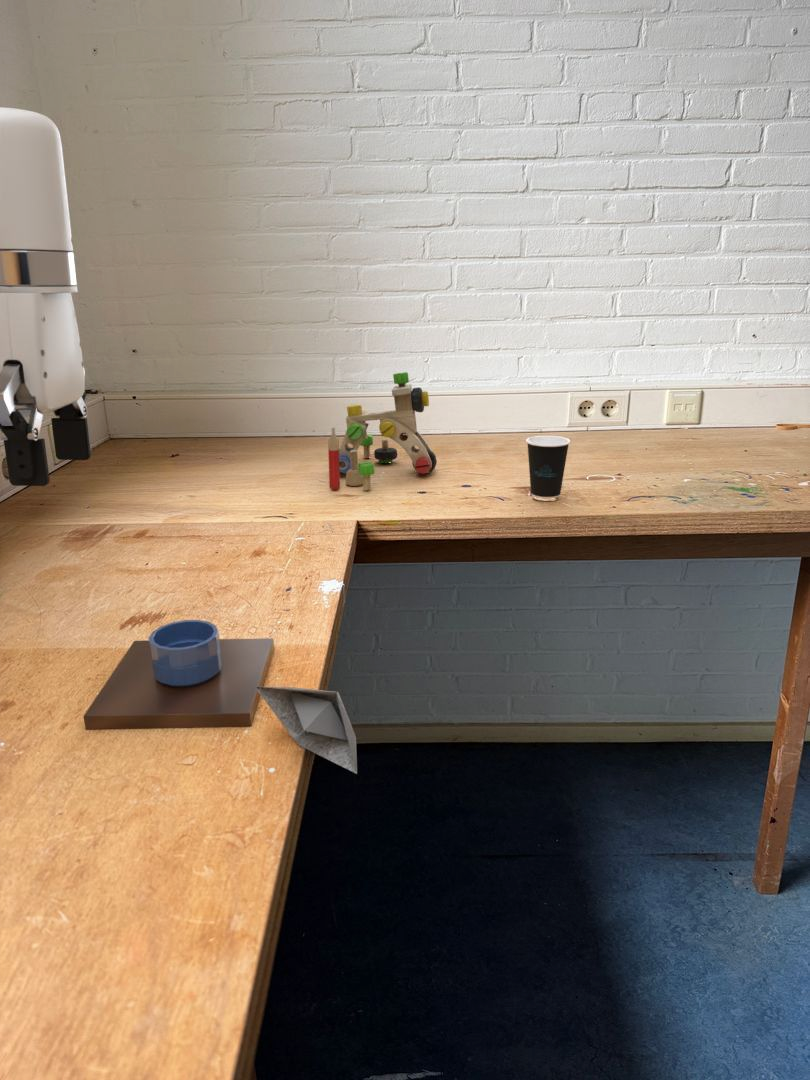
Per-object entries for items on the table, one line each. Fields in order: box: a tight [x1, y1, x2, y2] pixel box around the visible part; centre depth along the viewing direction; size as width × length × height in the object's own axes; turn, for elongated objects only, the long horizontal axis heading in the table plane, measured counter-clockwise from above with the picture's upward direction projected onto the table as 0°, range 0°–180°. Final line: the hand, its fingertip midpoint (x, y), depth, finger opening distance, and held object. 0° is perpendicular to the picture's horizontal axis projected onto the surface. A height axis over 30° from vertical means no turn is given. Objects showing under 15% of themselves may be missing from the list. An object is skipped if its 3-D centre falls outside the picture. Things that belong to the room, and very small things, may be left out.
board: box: [83, 637, 275, 730], centre depth 84 cm, size 16×16×2 cm
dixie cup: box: [525, 435, 571, 499], centre depth 146 cm, size 8×8×11 cm
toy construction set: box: [327, 371, 438, 491], centre depth 161 cm, size 27×22×21 cm
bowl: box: [148, 619, 222, 687], centre depth 83 cm, size 7×7×5 cm
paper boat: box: [254, 686, 358, 775], centre depth 72 cm, size 12×6×9 cm
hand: (53, 471), depth 73 cm, fingers open, 9 cm apart
